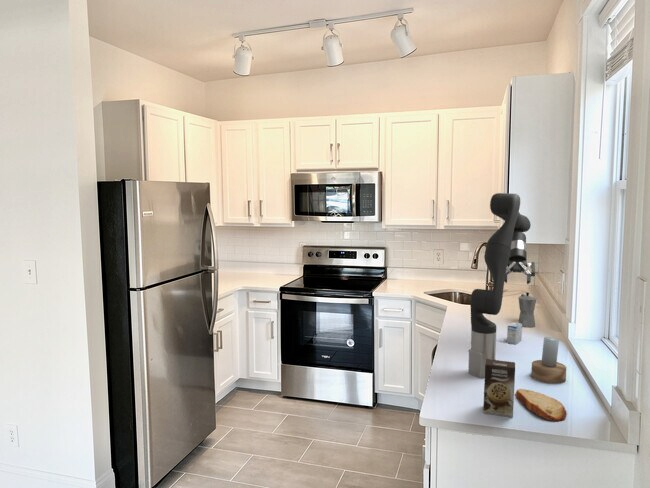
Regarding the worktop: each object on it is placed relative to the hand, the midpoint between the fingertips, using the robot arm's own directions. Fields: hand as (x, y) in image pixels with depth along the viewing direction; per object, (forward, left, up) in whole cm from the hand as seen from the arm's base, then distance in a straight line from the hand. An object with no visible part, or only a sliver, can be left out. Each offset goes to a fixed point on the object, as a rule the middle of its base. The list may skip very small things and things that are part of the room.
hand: (517, 282), depth 201 cm
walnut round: (-8, -22, -33) cm, 40 cm away
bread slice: (-34, -37, -33) cm, 60 cm away
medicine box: (+18, +15, -33) cm, 40 cm away
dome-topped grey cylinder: (-8, -22, -28) cm, 36 cm away
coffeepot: (+49, +33, -33) cm, 68 cm away
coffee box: (-48, -33, -33) cm, 67 cm away
